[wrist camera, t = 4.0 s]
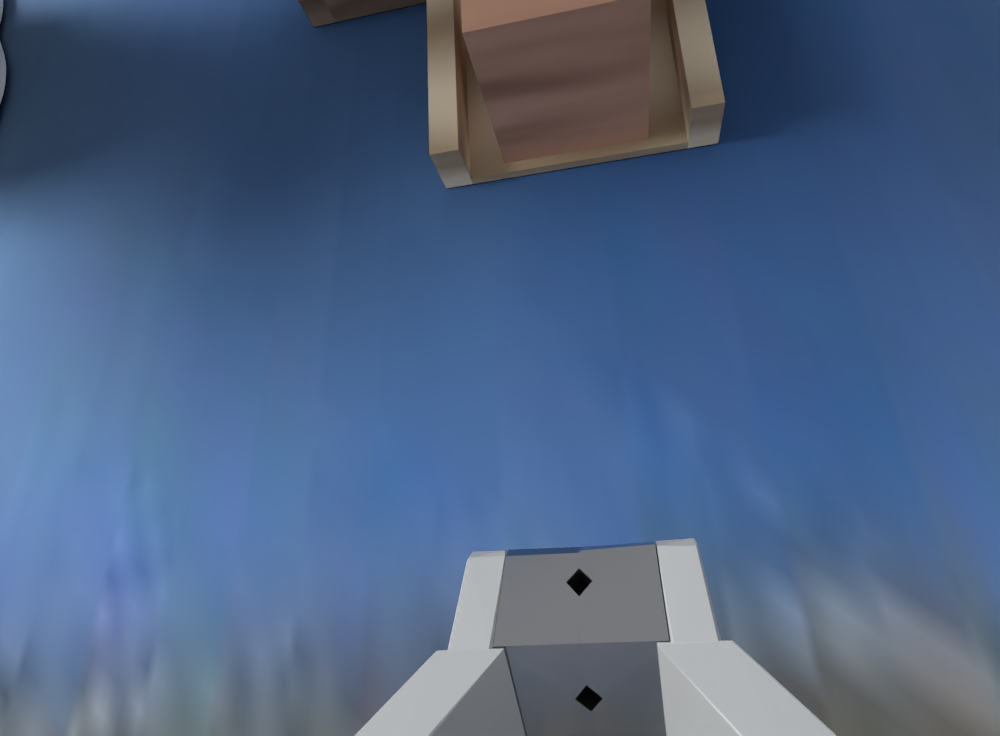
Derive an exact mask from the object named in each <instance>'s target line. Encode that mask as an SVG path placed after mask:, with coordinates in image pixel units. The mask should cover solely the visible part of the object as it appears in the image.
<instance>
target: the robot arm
mask: <svg viewBox="0 0 1000 736" xmlns="http://www.w3.org/2000/svg"><path fill="white" fill-rule="evenodd" d="M2 12H3V0H0V22H1V17H2ZM5 82H6V61H5V55H4V52H3V49H2V45H1V42H0V103H1V100H2V97H3V93H4V88H5ZM355 736H837V735H836V734H835V733H834V732H832V731H831V730H830V729H829V728H828V727H827V726H826V725H825V724H824V723H823V722H822V721H821V720H819V719H818V718H817V717H816V716H815V715H814V714H813V713H812V712H811V711H810V710H809V709H807V708H806V707H805V706H804V705H803V704H802V703H801V702H800V701H799V700H798V699H797V698H796V697H794V696H793V695H792V694H791V693H790V692H789V691H788V690H787V689H786V688H785V687H784V686H783V685H781V684H780V683H779V682H778V681H777V680H776V679H775V678H774V677H773V676H772V675H771V674H770V673H768V672H767V671H766V670H765V669H764V668H763V667H762V666H761V665H760V664H759V663H758V662H757V661H755V660H754V659H753V658H752V657H751V656H750V655H749V654H748V653H747V652H746V651H745V650H743V649H742V648H741V647H740V646H739V645H738V644H737V643H736V642H735V641H721V639H720V635H719V631H718V626H717V622H716V618H715V614H714V610H713V605H712V601H711V597H710V593H709V589H708V584H707V580H706V576H705V572H704V568H703V563H702V559H701V555H700V551H699V546H698V543H697V542H696V541H695V539H694V538H690V539H677V540H665V541H656V544H655V543H654V542H645V543H631V544H616V545H601V546H587V547H570V548H543V549H516V550H508V551H482V552H472V553H471V555H470V557H469V558H468V560H467V563H466V568H465V573H464V577H463V582H462V586H461V591H460V596H459V600H458V605H457V610H456V614H455V619H454V623H453V628H452V633H451V637H450V642H449V646H448V650H440V651H436V652H435V653H434V654H433V655H432V656H431V657H430V658H429V659H428V660H427V661H426V662H425V663H424V664H423V665H422V666H421V667H420V668H419V669H418V670H417V672H416V673H415V674H414V675H413V676H412V677H411V678H410V679H409V680H408V681H407V682H406V683H405V684H404V685H403V686H402V687H401V688H400V689H399V690H398V691H397V692H396V693H395V694H394V695H393V696H392V697H391V698H390V700H389V701H388V702H387V703H386V704H385V705H384V706H383V707H382V708H381V709H380V710H379V711H378V712H377V713H376V714H375V715H374V716H373V717H372V718H371V719H370V720H369V721H368V722H367V723H366V724H365V725H364V726H363V728H362V729H361V730H360V731H359V732H358V733H357V734H356V735H355Z"/></svg>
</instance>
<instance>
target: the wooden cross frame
mask: <svg viewBox="0 0 1000 736" xmlns="http://www.w3.org/2000/svg"><path fill="white" fill-rule="evenodd" d="M298 1H299V3H300V4H301V6H302V8H303V10H304V11H305V13H306V15H307V16H308V18H309V20H310V21H311V23H312V25H313V26H314V27H316V26H321V25H325V24H330V23H334V22H339V21H344V20H348V19H353V18H357V17H362V16H366V15H371V14H375V13H380V12H384V11H389V10H394V9H398V8H403V7H407V6H412V5H416V4H421V3H425V2H427V50H428V108H429V155H430V157H431V159H432V161H433V163H434V165H435V167H436V169H437V171H438V173H439V175H440V177H441V179H442V181H443V183H444V185H445V187H446V188H452V187H458V186H464V185H470V184H476V183H482V182H488V181H494V180H500V179H506V178H512V177H518V176H524V175H530V174H536V173H542V172H548V171H554V170H560V169H566V168H572V167H578V166H584V165H590V164H596V163H602V162H608V161H614V160H620V159H626V158H632V157H638V156H644V155H650V154H656V153H662V152H668V151H675V150H681V149H687V148H693V147H699V146H705V145H711V144H717V143H718V141H719V135H720V130H721V124H722V118H723V113H724V107H725V98H724V93H723V88H722V83H721V78H720V73H719V68H718V63H717V58H716V53H715V48H714V43H713V38H712V33H711V28H710V23H709V17H708V12H707V7H706V2H705V0H651V30H650V84H649V138H648V139H642V140H636V141H630V142H624V143H619V144H613V145H607V146H601V147H595V148H589V149H583V150H578V151H572V152H566V153H560V154H554V155H548V156H542V157H536V158H531V159H525V160H519V161H513V162H507V163H504V160H503V157H502V154H501V151H500V148H499V145H498V142H497V139H496V136H495V132H494V129H493V126H492V123H491V120H490V117H489V114H488V111H487V108H486V105H485V102H484V99H483V96H482V93H481V90H480V87H479V83H478V80H477V77H476V74H475V71H474V68H473V65H472V62H471V59H470V56H469V53H468V50H467V47H466V44H465V41H464V37H463V34H462V19H461V0H298Z"/></svg>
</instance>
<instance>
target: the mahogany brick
mask: <svg viewBox="0 0 1000 736" xmlns="http://www.w3.org/2000/svg"><path fill="white" fill-rule="evenodd" d="M461 19H462V34H463V37H464V41H465V44H466V47H467V50H468V53H469V56H470V59H471V62H472V65H473V68H474V71H475V74H476V77H477V80H478V83H479V87H480V90H481V93H482V96H483V99H484V102H485V105H486V108H487V111H488V114H489V117H490V120H491V123H492V126H493V129H494V132H495V136H496V139H497V142H498V145H499V148H500V151H501V154H502V157H503V160H504V163H507V162H513V161H519V160H525V159H531V158H536V157H542V156H548V155H554V154H560V153H566V152H572V151H578V150H583V149H589V148H595V147H601V146H607V145H613V144H619V143H624V142H630V141H636V140H642V139H648V138H649V84H650V30H651V0H461Z"/></svg>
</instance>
